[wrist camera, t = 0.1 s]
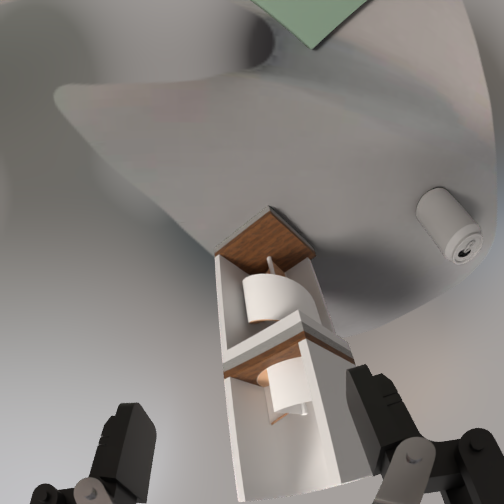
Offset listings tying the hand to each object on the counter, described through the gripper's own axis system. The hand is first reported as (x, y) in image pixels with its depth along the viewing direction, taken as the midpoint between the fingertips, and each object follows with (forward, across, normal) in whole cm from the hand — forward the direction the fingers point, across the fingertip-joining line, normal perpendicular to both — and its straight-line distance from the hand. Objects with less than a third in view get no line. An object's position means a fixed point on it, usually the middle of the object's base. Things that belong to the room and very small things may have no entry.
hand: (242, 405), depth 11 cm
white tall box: (+37, -3, +9) cm, 38 cm away
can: (+36, -32, +7) cm, 49 cm away
